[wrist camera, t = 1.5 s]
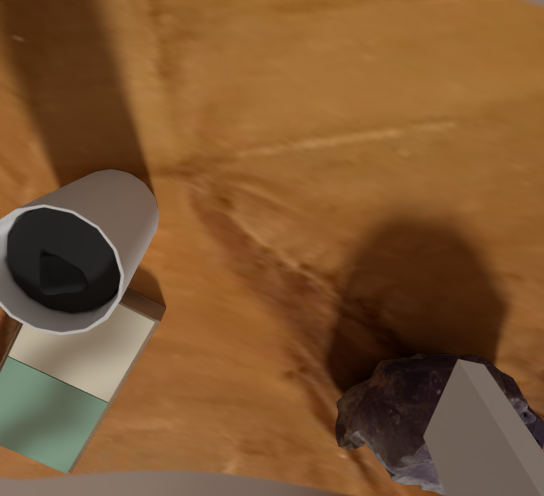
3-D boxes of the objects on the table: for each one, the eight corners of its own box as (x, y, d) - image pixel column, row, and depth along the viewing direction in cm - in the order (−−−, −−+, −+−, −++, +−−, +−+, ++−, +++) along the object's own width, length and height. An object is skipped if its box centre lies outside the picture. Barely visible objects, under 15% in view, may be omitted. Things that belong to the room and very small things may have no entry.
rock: (464, 430, 41) (508, 318, 37) (533, 529, 33) (598, 399, 29) (320, 428, 38) (350, 307, 34) (356, 535, 30) (401, 393, 26)
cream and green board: (-17, 410, 38) (-34, 431, 36) (59, 253, 34) (45, 266, 32) (81, 453, 40) (70, 475, 38) (166, 307, 35) (159, 323, 33)
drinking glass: (168, 261, 34) (129, 337, 25) (69, 258, 34) (-7, 333, 25) (164, 163, 32) (118, 206, 22) (58, 160, 32) (-32, 202, 22)
